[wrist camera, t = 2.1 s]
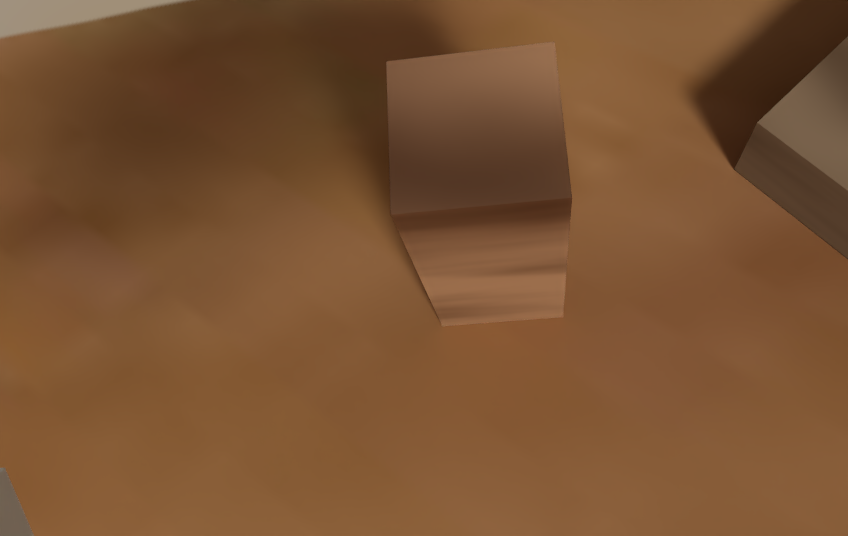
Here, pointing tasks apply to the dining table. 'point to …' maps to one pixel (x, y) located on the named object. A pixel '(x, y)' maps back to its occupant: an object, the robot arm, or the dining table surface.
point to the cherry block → (482, 181)
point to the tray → (807, 151)
